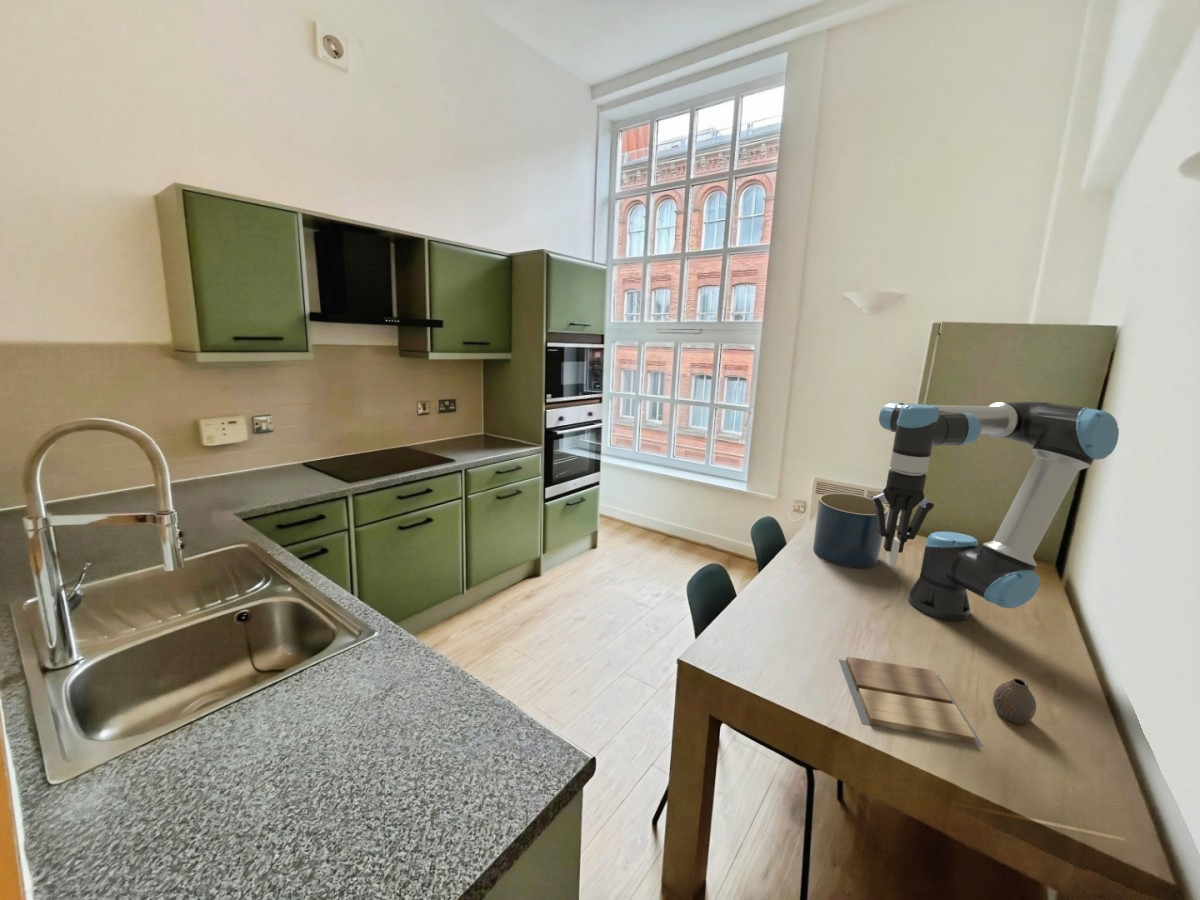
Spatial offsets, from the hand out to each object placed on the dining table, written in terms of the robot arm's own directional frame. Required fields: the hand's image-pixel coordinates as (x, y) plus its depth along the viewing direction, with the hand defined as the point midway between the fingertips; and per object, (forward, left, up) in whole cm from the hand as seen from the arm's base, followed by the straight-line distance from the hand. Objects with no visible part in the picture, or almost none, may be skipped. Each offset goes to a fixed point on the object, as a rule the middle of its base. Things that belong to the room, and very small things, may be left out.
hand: (890, 563), depth 120 cm
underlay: (-1, +18, -24) cm, 30 cm away
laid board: (-1, +13, -24) cm, 27 cm away
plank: (-1, +23, -24) cm, 33 cm away
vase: (-22, +17, -25) cm, 37 cm away
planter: (-6, -58, -25) cm, 63 cm away
